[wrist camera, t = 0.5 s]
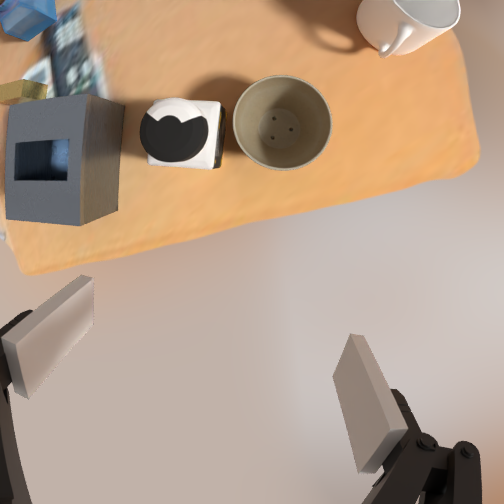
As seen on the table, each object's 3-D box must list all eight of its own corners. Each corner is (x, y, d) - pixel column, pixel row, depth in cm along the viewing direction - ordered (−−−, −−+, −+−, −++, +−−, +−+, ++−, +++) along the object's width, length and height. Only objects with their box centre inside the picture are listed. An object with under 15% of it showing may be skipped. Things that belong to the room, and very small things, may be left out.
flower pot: (324, 164, 38) (337, 166, 31) (243, 173, 39) (239, 176, 32) (314, 86, 35) (325, 72, 29) (233, 94, 36) (227, 80, 29)
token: (20, 90, 35) (-4, 86, 30) (47, 85, 35) (23, 79, 30) (18, 105, 36) (-6, 102, 30) (45, 100, 36) (21, 96, 30)
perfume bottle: (54, -5, 31) (12, -30, 19) (57, 21, 32) (11, -3, 21) (25, 15, 31) (-18, -4, 20) (28, 41, 33) (-20, 24, 21)
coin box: (53, 111, 37) (9, 105, 27) (124, 105, 36) (87, 93, 27) (49, 205, 40) (6, 219, 31) (117, 210, 40) (80, 226, 31)
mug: (418, 11, 31) (457, -21, 20) (416, 82, 34) (462, 63, 23) (356, -10, 31) (382, -52, 20) (350, 62, 34) (380, 31, 23)
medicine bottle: (221, 168, 39) (204, 171, 27) (165, 163, 39) (127, 166, 27) (227, 111, 37) (213, 91, 25) (171, 108, 37) (136, 90, 25)
